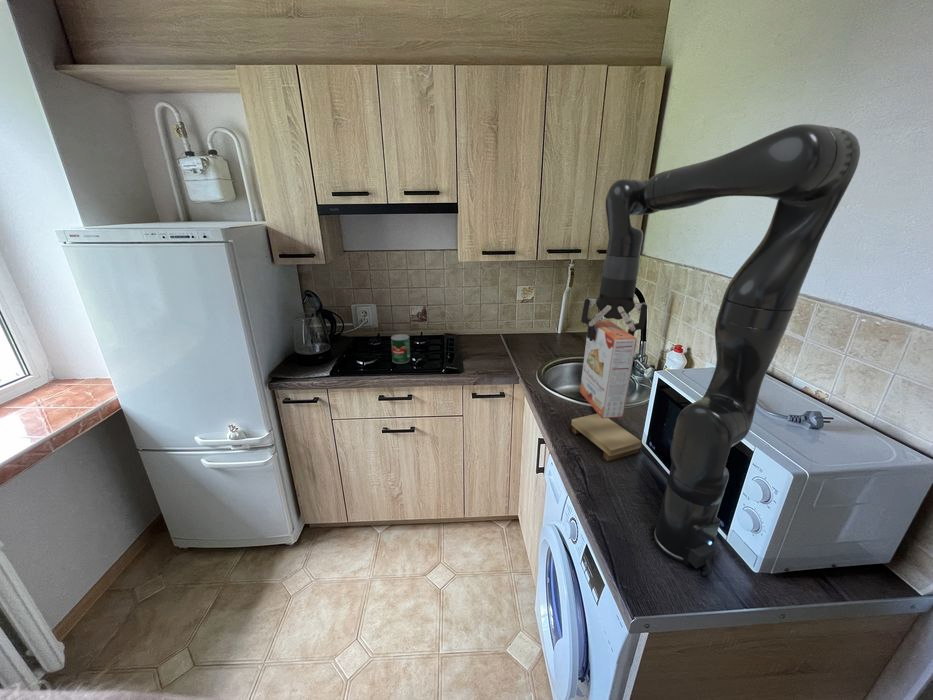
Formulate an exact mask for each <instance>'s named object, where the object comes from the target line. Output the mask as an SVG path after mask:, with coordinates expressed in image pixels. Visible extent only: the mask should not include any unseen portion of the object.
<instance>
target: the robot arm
mask: <svg viewBox="0 0 933 700" xmlns="http://www.w3.org/2000/svg"><path fill="white" fill-rule="evenodd" d="M860 157H861V145H860V143H859V140H858V138H857V136H856V135H855V134H853V132H851V131H849V130H847V129H844V128H840V127H834V126H827V125H820V124H819V125H818V124H811V123H810V124H809V123H802V124H795V125H791V126H788V127H786V128H783V129H780V130H777V131H775V132H773V133H771V134H768V135H766V136H764V137H762V138H759V139H757V140H755V141H752V142H750V143H749V144H746V145H744V146H742V147H739V148H737V149H735V150H733V151H729V152H726V153H725V154H722V155H719V156H717V157H714V158H711V159H707V160H704V161H701V162H696V163H692V164H689V165H685V166H681V167H676V168H672V169H669V170H664V171H662V172H659V173H656V174H655V175H653V176H651V177H650V178H649V179H630V178H629V179H628V178H627V179H626V178H623V179H622V178H621V179H618V180H616V181H614V182H613V183H612V184H611V186H610V187H609V188H608V191H607V193H606V197H605V201H604V203H605V204H604V205H605V214H606V223H607V231H608V240H607V246H606V254H605V257H604V261H603V267H602V271H601V272H602V273H601V280H600V281H601V282H600V288H599V295H598V297H597V298H591V297H590V296H586V297H585V299H584V301H583V307H582V314H581V319H580V321H581V323H582V324H585V325H587V331H588V332H587V331H586V339H587V338H590V339H589V341H592V340H593V334H594V327H595V325H594V324H595V323H596V322H597V321H601V319H602V318H605V319H606V320H610V319H614V320H617V321H620V320H622V319H623V321H624V323H625V324H626V326H627V327H628V329H627V332H628V333H629V334H631V335H632V336H634V337H635V332H636V331H638V330H641V331H642V330H644V329H645V325H646V318H647V312H648V304H647V302H646V301H643V302H635V300H634V299H635V293H636V286H637V281H638V275H639V270H640V256H641V252H642V245H643V238H644V232H643V230H642V229H641V228H639V227H637V226H633V225H632V221H631V216H645V215H646V216H647V215H652V214H656V213H658V212H661V211H670V210H678V209H683V208H689V207H693V206H697V205H700V204H702V203H705V202H708V201H710V200H714V199H718V198H724V197H761V198H769V199H771V200H776V205H775V208H774V212H773V214H772V218H771V220H770V223H769V226H768V228H767V229H766V232H765V235H764V236H763V237H762V240H761V241H760V242H759V244H758V245H757V246H756V248H755V249H754V250H753V252H752V253H751V254H750V256H748V258H746V260H745V261H744V263H742V265H741V266H740V268H739V269H738V270H737V271H736V272H735V274H734V275H733V277H732V278H731V280H730V281H729V283H728V284H727V287H726V288H725V291H724V294H723V297H722V300H721V304H720V306H719V310H718V314H717V318H716V320H715V326H714V342H715V352H716V353H715V354H716V364H715V367H714V372H713V374H712V377H711V380H710V382H709V385H708V387H707V389H706V391H705V394H704V395H703V396H702V397H701V399H698V400H697V401H695V402H693V403H690V404H688V405H686V406H685V407H683V409H681V411H680V412H679V413H678V416H677V418H676V421H675V424H674V428H673V429H674V430H673V434H672V440H671V444H670V451H669V452H670V453H669V456H670V461H671V465H670V469H669V473H668V477H667V481H666V485H665V488H664V489H665V490H664V493H663V498H662V501H661V505H660V510H659V513H658V518H657V521H656V525H655V528H654V532H653V540H654V542H655V544H656V546H657V548H658V549H660V550H661V551H662V552H663V553H664V554H665V555H667V556H668V557H670V558H671V559H673V560H675V561H677V562H680V563H682V564H684V565H685V567H691V566H693V568H695V569H698V568H701V567H702V566H706V570H703V571H702V572H701V574H702V576H704V577H706V576H710V575H711V574H712V572H713V569H712V565H711V563H712V560H713V557H714V554H715V552H716V551H715V549H714V547H713V546H714V544H715V540H716V538H717V534H718V531H719V528H720V525H721V522H722V521H721V519H720V518H719V517H717V516H718V513H719V510H720V507H721V503H722V501H723V497H724V494H725V492H726V488H727V485H728V482H729V479H730V473H729V470H728V468H727V467H726V465H727V462H728V457H729V454H730V451H731V449H732V447H734V446H735V445H737V444H738V443H740V442H742V441H743V440H744V439H745V438H746V437H747V435H748V434H749V433H750V430H751V428H752V425H753V420H754V416H755V413H756V407H757V403H758V398H759V394H760V390H761V388H762V384H763V381H764V378H765V376H766V374H767V372H768V370H769V368H770V366H771V364H772V362H773V360H774V358H775V355H776V353H777V351H778V349H779V346H780V343H781V342H782V339H783V338H784V335H785V333H786V330H787V327H788V325H789V323H790V320H791V318H792V315H793V313H794V310H795V307H796V304H797V301H798V299H799V295H800V293H801V289H802V287H803V284H804V283H805V280H806V278H807V275H808V273H809V271H810V268H811V266H812V263H813V261H814V257H815V255H816V252H817V249H818V248H819V245H820V243H821V240H822V238H823V235H824V233H825V232H826V229H827V227H828V226H829V224H830V221H831V220H832V218H833V216H834V214H835V213H836V211H837V209H838V206H839V205H840V203H841V202H842V201H841V200H842V199H843V198H844V195H845V193H846V191H847V190H848V188H849V185H850V183H851V181H852V179H853V178H854V175H855V174H856V171H857V169H858V165H859V162H860ZM595 305H596V307H597V308H598V311H597V312H596V313H595V314H594V316H592V317H591V318H590V317H588V316H589V310H590V309H591V308H593V307H594V306H595ZM634 309H635V310H636V312H637V313H639V317H638V322H637V323H635V322H634V321H633V319H632V317H631V315H630V313H631V312H632V311H633V310H634Z"/></svg>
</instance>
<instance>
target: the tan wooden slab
mask: <svg viewBox="0 0 933 700" xmlns="http://www.w3.org/2000/svg"><path fill="white" fill-rule="evenodd" d="M570 425H571V432H572V433H573V434H574V435H579V434H582V435H583V436H584V437H586V438H587V439H588V440H589V441H591V442H592V443H593V444H594V445H596V446H597V448H599V449H600V450H602V451H603V454H602V459H604V460H605V461H606V462H611V461H614V460H618V459H621V458H624V457H627V456H631V455H635V454H637V453H639V451H640V449H641V448H642V444H643V441H642V440H641V439H639V438H638V437H636V436H635V435H633V434H632V433H630V432H629V431H627V430H626V429H625V428H623V427H622V426H620V425H619V424H618V423H616V422H615V421H613V419H611V418H601V417H600V416H599V414H598V413H597V412H596V413H592V414H589V415H585V416H580V417H576V418H572V419H571V423H570Z"/></svg>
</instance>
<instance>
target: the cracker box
mask: <svg viewBox="0 0 933 700" xmlns="http://www.w3.org/2000/svg"><path fill="white" fill-rule="evenodd" d="M594 325H595V327H594V334H593V340H592V341H589V339H590V338H587V337H586V339H585V349H584V356H583V363H582V370H581V371H582V373H581V380H580V388H579V393H580V394H581V395H582V396H583V398H584V399H585V400H586V401H587V403H588V404H589V405H590V406H591V407H592V408H593V410H594V411H595V413H596V414H597V413H598V414H599V416H600V417H601V418H609V419H614V418H624V415H625V410H626V403H627V397H628V391H629V386H630V381H631V374H632V369H633V363H634V357H635V352H636V346H637V342H638V341H637V340H638V338H637V337H636V336H635V335H634V336H632V335H631V334H629V333H628V331H626V330H624V329H623V328H621V327H620V326H618V325H617V324H615V323H614V322H612V321H610V319H606V320H605V319H604V320H599V321H597V322H596V323H595V324H594ZM587 332H588V330H587V331H586V333H587Z"/></svg>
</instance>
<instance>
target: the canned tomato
mask: <svg viewBox="0 0 933 700" xmlns="http://www.w3.org/2000/svg"><path fill="white" fill-rule="evenodd" d="M390 340H391V341H390V343H391V359H392V360H391V361H392V363H393V364H397V365H398V364H401V365H403V364H406V363H409V362H410V361H411V346H410V345H411V344H410V335H409V334H404V333H398V334H397V333H396V334H394V335H393V334H392V335H391V337H390Z"/></svg>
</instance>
